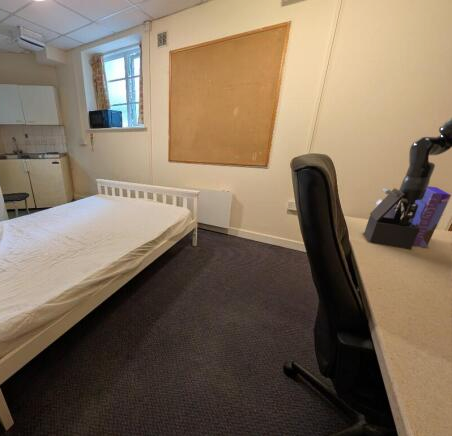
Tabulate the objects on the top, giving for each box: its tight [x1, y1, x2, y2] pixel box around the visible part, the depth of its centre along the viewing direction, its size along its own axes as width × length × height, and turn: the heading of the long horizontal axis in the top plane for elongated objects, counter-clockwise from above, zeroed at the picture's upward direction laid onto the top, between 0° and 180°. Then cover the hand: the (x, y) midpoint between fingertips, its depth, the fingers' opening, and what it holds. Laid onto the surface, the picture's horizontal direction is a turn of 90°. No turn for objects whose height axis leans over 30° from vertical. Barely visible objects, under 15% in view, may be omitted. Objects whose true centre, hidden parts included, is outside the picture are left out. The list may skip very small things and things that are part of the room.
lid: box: [369, 187, 406, 222], centre depth 99 cm, size 14×12×5 cm
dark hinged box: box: [363, 214, 420, 250], centre depth 101 cm, size 14×12×10 cm
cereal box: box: [409, 185, 452, 249], centre depth 100 cm, size 17×5×24 cm, turn 143°
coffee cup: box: [375, 198, 395, 218], centre depth 114 cm, size 10×10×15 cm
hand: (399, 223), depth 98 cm, fingers open, 7 cm apart
